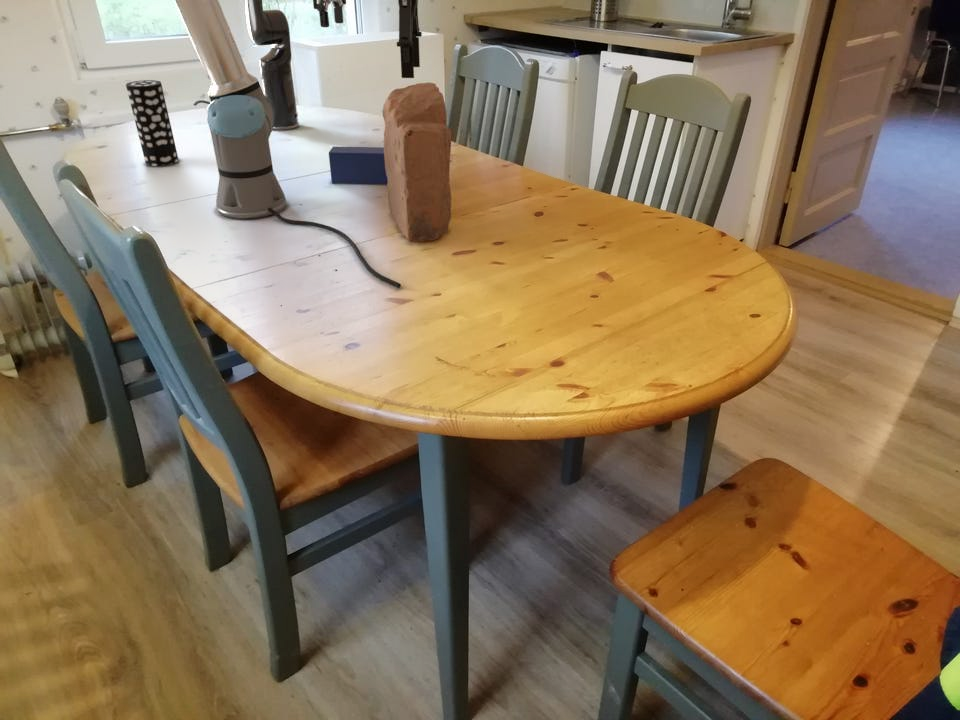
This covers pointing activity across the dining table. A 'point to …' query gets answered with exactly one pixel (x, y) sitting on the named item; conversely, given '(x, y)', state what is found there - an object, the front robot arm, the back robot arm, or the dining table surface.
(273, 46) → the back robot arm
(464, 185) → the dining table surface
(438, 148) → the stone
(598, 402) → the dining table surface
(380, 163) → the bar
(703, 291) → the dining table surface
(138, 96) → the black spotted cylinder
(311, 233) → the dining table surface
